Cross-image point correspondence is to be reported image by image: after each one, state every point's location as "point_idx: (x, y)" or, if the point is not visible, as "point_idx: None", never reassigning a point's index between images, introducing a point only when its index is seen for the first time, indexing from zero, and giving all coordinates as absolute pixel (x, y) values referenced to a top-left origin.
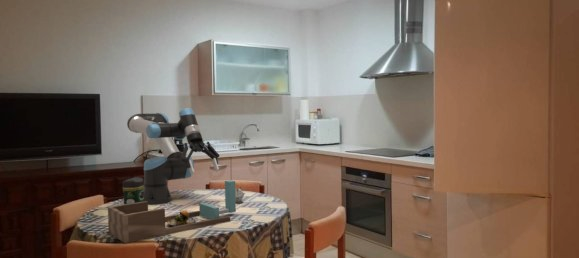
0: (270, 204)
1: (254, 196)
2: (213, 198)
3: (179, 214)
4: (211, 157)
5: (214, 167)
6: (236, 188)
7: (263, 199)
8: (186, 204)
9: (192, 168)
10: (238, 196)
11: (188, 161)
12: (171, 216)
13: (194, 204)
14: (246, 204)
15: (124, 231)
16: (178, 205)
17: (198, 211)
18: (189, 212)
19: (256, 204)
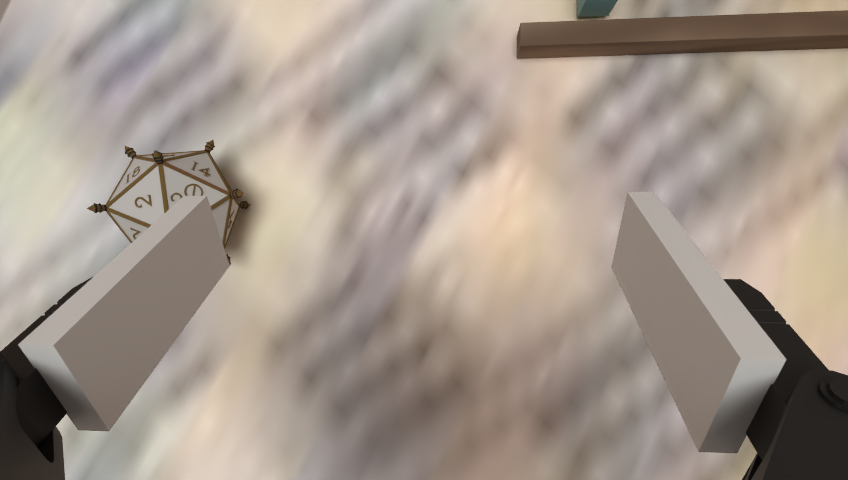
0: (83, 8)
1: (10, 301)
2: (258, 461)
3: (758, 30)
4: (52, 470)
5: (194, 304)
6: (134, 218)
7: (25, 170)
8: (507, 418)
9: (669, 224)
10: (196, 152)
11: (783, 372)
12: (829, 12)
13: (462, 375)
14: (195, 116)
15: None
16: (567, 430)
17: (612, 25)
18: (676, 38)
19: (148, 70)
